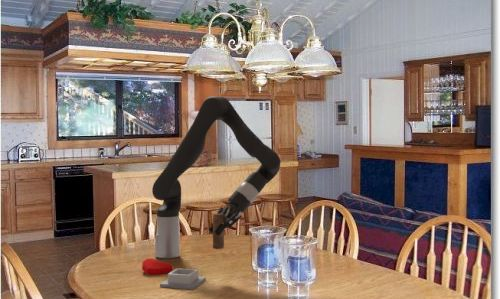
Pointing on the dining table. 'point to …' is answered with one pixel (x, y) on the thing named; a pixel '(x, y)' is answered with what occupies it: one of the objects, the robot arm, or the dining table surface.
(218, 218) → the dark brown block
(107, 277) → the dining table surface
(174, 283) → the gray flanged square socket
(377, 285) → the dining table surface
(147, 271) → the heart
